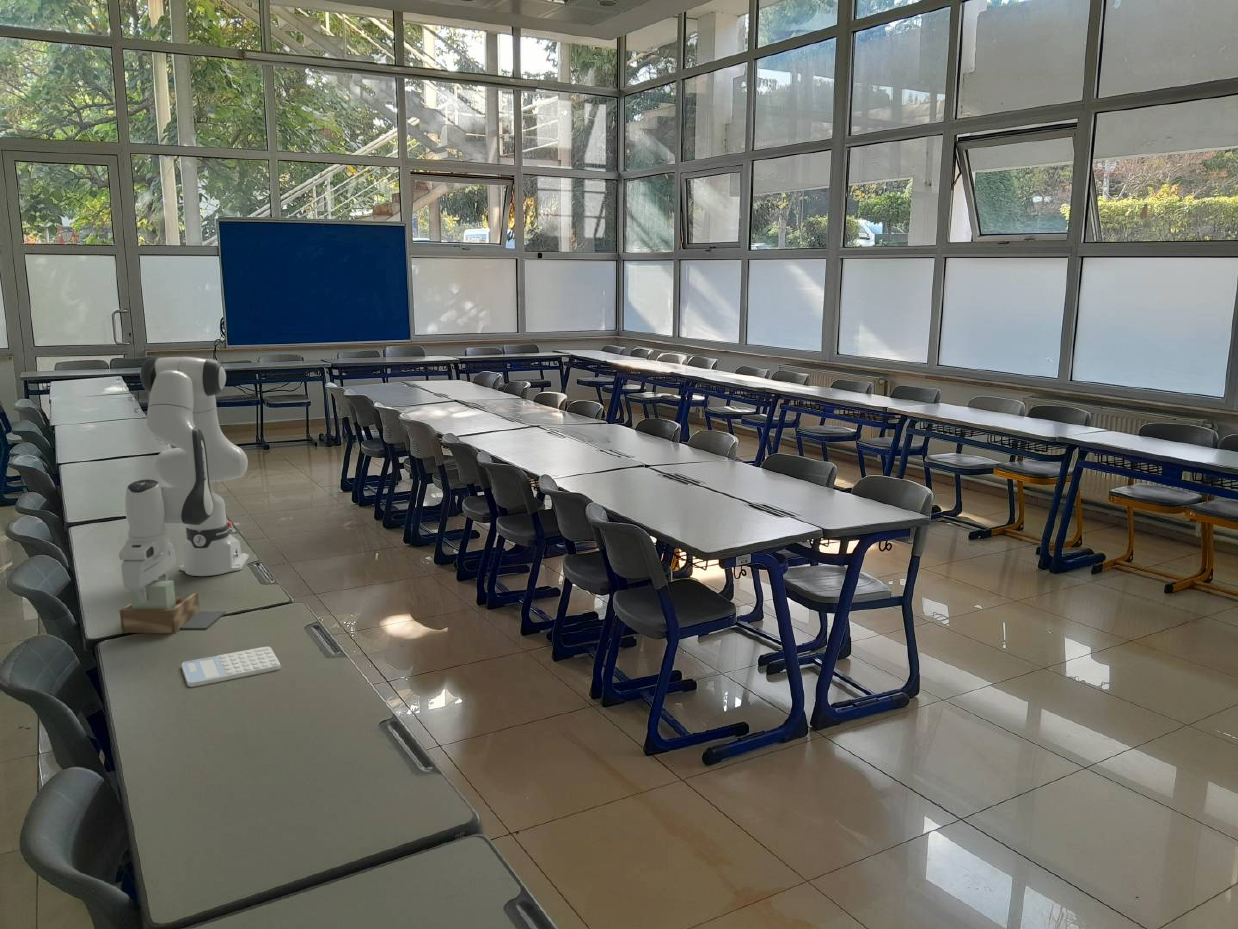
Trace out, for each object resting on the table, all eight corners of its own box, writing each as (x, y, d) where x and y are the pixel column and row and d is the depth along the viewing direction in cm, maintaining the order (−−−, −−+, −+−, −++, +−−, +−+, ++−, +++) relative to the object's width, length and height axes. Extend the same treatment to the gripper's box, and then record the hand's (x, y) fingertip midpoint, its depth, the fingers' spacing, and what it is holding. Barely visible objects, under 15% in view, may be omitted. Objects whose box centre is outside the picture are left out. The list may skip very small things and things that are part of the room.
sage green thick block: (143, 624, 240) (138, 580, 237) (177, 624, 240) (173, 580, 237) (134, 630, 235) (129, 586, 233) (169, 630, 235) (165, 586, 233)
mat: (199, 612, 248) (199, 611, 248) (225, 613, 248) (225, 611, 248) (179, 629, 236) (179, 627, 236) (206, 629, 236) (206, 627, 236)
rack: (148, 613, 247) (146, 592, 246) (199, 613, 247) (197, 592, 246) (121, 632, 234) (119, 610, 232) (175, 633, 234) (173, 610, 233)
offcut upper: (160, 605, 245) (159, 597, 245) (182, 606, 245) (181, 597, 245) (153, 610, 242) (152, 601, 241) (176, 610, 242) (175, 601, 242)
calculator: (282, 671, 213) (281, 663, 213) (188, 690, 203) (187, 682, 202) (270, 651, 224) (269, 644, 224) (181, 668, 214) (180, 660, 214)
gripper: (155, 532, 243) (160, 582, 246) (115, 555, 223) (120, 609, 226) (179, 533, 243) (183, 582, 246) (140, 555, 223) (146, 609, 226)
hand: (153, 595), depth 236 cm, fingers open, 8 cm apart
